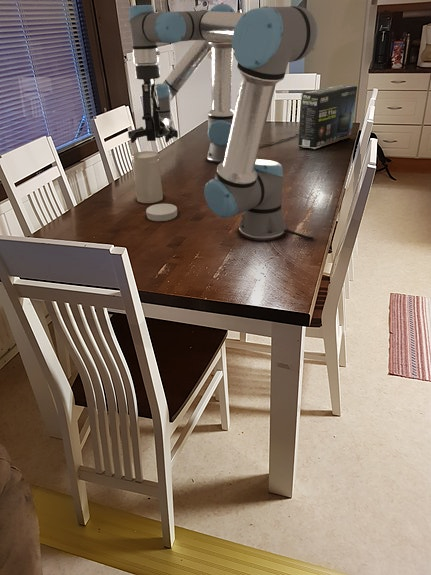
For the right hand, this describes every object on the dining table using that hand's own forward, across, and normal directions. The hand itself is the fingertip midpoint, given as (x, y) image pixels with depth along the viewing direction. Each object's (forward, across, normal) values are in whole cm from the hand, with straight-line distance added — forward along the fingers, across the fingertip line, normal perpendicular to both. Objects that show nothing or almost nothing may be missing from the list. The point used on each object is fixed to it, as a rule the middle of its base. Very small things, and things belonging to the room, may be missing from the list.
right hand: (154, 135), depth 151 cm
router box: (+28, +94, -78) cm, 125 cm away
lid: (+26, 0, 0) cm, 26 cm away
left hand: (+7, +27, +6) cm, 29 cm away
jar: (+28, +18, +7) cm, 34 cm away
